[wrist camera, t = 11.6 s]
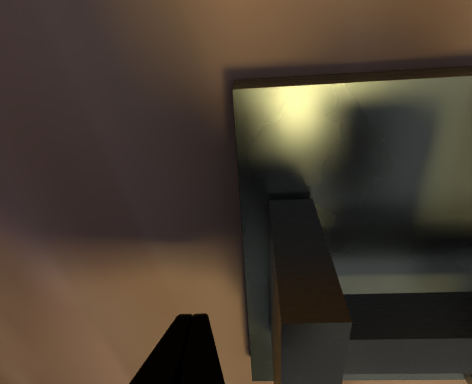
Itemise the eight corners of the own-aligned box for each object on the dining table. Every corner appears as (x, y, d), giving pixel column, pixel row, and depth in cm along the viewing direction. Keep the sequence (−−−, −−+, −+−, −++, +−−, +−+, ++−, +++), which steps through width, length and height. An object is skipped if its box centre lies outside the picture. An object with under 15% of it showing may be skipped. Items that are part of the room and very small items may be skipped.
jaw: (271, 371, 13) (279, 503, 10) (267, 131, 8) (282, 230, 5) (514, 369, 13) (613, 508, 9) (671, 111, 8) (1014, 207, 4)
